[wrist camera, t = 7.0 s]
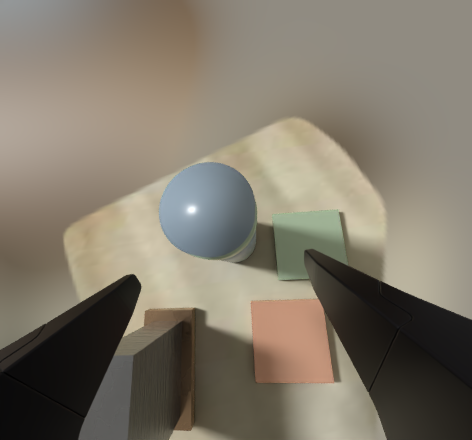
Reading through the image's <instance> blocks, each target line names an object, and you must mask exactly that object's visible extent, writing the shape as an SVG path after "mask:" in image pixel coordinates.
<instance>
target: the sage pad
mask: <svg viewBox="0 0 472 440" xmlns="http://www.w3.org/2000/svg"><path fill="white" fill-rule="evenodd" d="M272 219H273V229H274V240H275V251H276V261H277V272H278V280H291V279H310V278H309V276H308V273H307V271H306V268H305V265H304V251H305V250H306V249H315V250H317V251H319V252H321V253H323V254H325V255H327V256H329V257H331V258H333V259H335V260H338V261H340V262H342V263H344V264H346V265H348V261H347V255H346V250H345V244H344V239H343V233H342V227H341V222H340V216H339V211H338V210H324V211H310V212H296V213H282V214H273V215H272Z"/></svg>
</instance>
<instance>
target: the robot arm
mask: <svg viewBox="0 0 472 440" xmlns="http://www.w3.org/2000/svg"><path fill="white" fill-rule="evenodd" d="M304 265H305V268H306V271H307V273H308V276H309V278H310V281H311V284H312V286H313V289H314V291H315V293H316V295H317V297H318V299H319V301H320V303H321V305H322V307H323V308H324V310H325V312H326V314H327V316H328V318H329V320H330V322H331V323H332V325H333V327H334V329H335V331H336V333H337V335H338V337H339V339H340V340H341V342H342V344H343V346H344V348H345V350H346V352H347V354H348V355H349V357H350V359H351V361H352V363H353V365H354V367H355V369H356V370H357V372H358V374H359V376H360V378H361V380H362V382H363V384H364V386H365V387H366V389H367V391H368V392H369V395H370V397H371V399H372V401H373V403H374V405H375V408H376V410H377V412H378V415H379V418H380V421H381V423H382V426H383V429H384V432H385V435H386V438H387V440H472V320H471V319H468V318H466V317H463V316H461V315H458V314H456V313H454V312H451V311H449V310H446V309H444V308H441V307H439V306H436V305H434V304H432V303H429V302H427V301H424V300H422V299H419V298H417V297H415V296H412V295H410V294H408V293H405V292H403V291H401V290H398V289H397V288H394V287H392V286H390V285H388V284H386V283H384V282H382V281H379V280H377V279H375V278H373V277H371V276H369V275H367V274H365V273H362V272H360V271H358V270H356V269H354V268H352V267H350V266H348V265H346V264H344V263H342V262H340V261H338V260H335V259H333V258H331V257H329V256H327V255H325V254H323V253H321V252H319V251H317V250H315V249H306V250H305V251H304ZM140 291H141V283H140V282H139V280H138V279H137V277H136V276H135V275H134V274H130V275H126V276H124V277H122V278H121V279H119V280H117V281H116V282H114V283H112V284H111V285H109V286H107V287H106V288H104V289H102V290H101V291H99V292H97V293H96V294H94V295H92V296H91V297H89V298H87V299H86V300H84V301H82V302H81V303H79V304H77V305H76V306H74V307H72V308H71V309H69V310H68V311H66V312H64V313H63V314H61V315H59V316H58V317H56V318H54V319H53V320H51V321H50V322H48V323H47V324H44V325H42V326H40V327H39V328H37V329H35V330H34V331H33V332H31V333H29V334H27V335H25V336H24V337H22V338H20V339H19V340H17V341H15V342H13V343H12V344H10V345H8V346H6V347H5V348H3V349H1V350H0V440H79V435H80V431H81V428H82V425H83V423H84V420H85V418H86V416H87V414H88V411H89V409H90V407H91V405H92V403H93V400H94V398H95V396H96V394H97V392H98V389H99V387H100V385H101V383H102V381H103V378H104V376H105V374H106V372H107V370H108V367H109V365H110V363H111V361H112V359H113V356H114V354H115V352H116V350H117V348H118V345H119V343H120V341H121V339H122V337H123V334H124V332H125V330H126V328H127V326H128V323H129V321H130V319H131V317H132V314H133V312H134V309H135V306H136V303H137V300H138V297H139V294H140Z"/></svg>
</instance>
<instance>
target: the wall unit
mask: <svg viewBox="0 0 472 440" xmlns="http://www.w3.org/2000/svg"><path fill="white" fill-rule="evenodd" d="M194 416H195V308H167V309H149V310H146V311H145V320H144V327H142V328H140V329H138V330H136V331H134V332H132V333H130V334H129V335H127V336H125V337H123V338H122V339H121V341H120V343H119V345H118V348H117V350H116V352H115V354H114V356H113V359H112V361H111V363H110V365H109V367H108V370H107V372H106V374H105V376H104V378H103V381H102V383H101V385H100V387H99V389H98V392H97V394H96V396H95V398H94V400H93V403H92V405H91V407H90V409H89V411H88V414H87V416H86V418H85V420H84V423H83V425H82V428H81V431H80V435H79V440H169V438H170V436H171V434H172V432H173V430H184V431H191V429H192V427H193V425H194Z"/></svg>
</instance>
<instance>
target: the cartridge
mask: <svg viewBox="0 0 472 440" xmlns="http://www.w3.org/2000/svg"><path fill="white" fill-rule="evenodd" d="M159 218H160V224H161V227H162V230H163V232H164V234H165V235H166V237H167V238H168V240H169V241H170V242H171V243H172V244H173V245H174V246H175V247H177V248H178V249H180V250H181V251H183V252H186V253H188V254H190V255H192V256H194V257H198V258H202V259H208V260H222V261H227V262H240V261H243V260H245V259H246V258H248V257H249V256H250V255H251V254H252V252H253V251H254V249H255V245H256V226H257V206H256V202H255V198H254V195H253V191H252V189H251V187H250V185H249V183H248V181H247V180H246V179H245V178H244V176H243V175H242V174H240V173H239V172H238V171H237V170H235V169H234V168H232V167H230V166H227V165H224V164H221V163H214V162H206V163H199V164H196V165H193V166H190V167H188V168H186V169H184V170H183V171H181V172H180V173H179V174H177V175H176V176H175V177H174V178H173V179H172V180H171V181H170V183H169V184H168V185H167V187H166V189H165V191H164V192H163V195H162V198H161V201H160V207H159Z"/></svg>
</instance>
